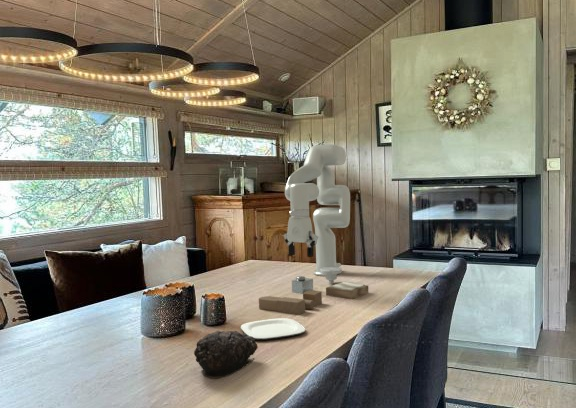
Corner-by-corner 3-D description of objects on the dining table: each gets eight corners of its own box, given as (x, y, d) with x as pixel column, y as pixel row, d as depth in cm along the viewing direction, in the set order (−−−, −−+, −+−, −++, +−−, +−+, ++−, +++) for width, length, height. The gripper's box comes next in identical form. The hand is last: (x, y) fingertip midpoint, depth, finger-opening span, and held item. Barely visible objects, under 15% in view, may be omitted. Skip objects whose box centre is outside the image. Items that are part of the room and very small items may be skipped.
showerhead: (319, 269, 219) (320, 265, 229) (320, 286, 220) (320, 281, 229) (341, 268, 218) (341, 264, 228) (342, 285, 219) (342, 280, 229)
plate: (236, 328, 163) (236, 323, 163) (289, 321, 169) (289, 316, 169) (253, 345, 146) (252, 339, 146) (311, 336, 152) (311, 331, 152)
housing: (302, 289, 215) (302, 274, 215) (313, 290, 211) (312, 276, 211) (292, 292, 210) (291, 277, 209) (302, 294, 206) (302, 278, 206)
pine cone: (263, 358, 134) (262, 320, 134) (221, 383, 119) (220, 341, 118) (231, 352, 140) (229, 316, 139) (187, 376, 124) (185, 335, 124)
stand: (343, 289, 212) (343, 281, 211) (368, 293, 204) (368, 284, 204) (326, 295, 202) (325, 286, 202) (351, 299, 195) (351, 290, 195)
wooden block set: (300, 299, 175) (257, 294, 184) (301, 316, 175) (258, 310, 185) (324, 289, 189) (282, 285, 199) (324, 304, 189) (283, 299, 199)
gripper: (277, 214, 211) (278, 255, 212) (311, 215, 200) (312, 258, 201) (289, 213, 217) (290, 253, 217) (322, 213, 206) (323, 256, 206)
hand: (300, 256), depth 209 cm, fingers open, 9 cm apart
